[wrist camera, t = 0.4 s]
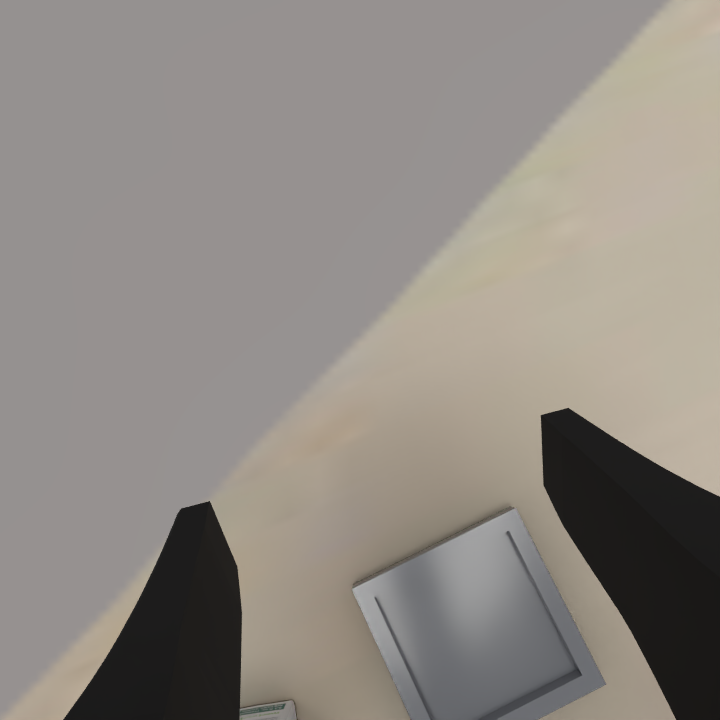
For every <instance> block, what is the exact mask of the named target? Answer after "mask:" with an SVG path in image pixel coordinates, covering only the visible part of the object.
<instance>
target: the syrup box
mask: <svg viewBox="0 0 720 720" xmlns="http://www.w3.org/2000/svg"><path fill="white" fill-rule="evenodd" d="M240 720H297V717H296V711H295V705H294V702H293V700H289V701H284V702H277V703H271V704H264V705H257V706H252V707H247V708H241V709H240Z"/></svg>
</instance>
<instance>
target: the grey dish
mask: <svg viewBox="0 0 720 720" xmlns="http://www.w3.org/2000/svg"><path fill="white" fill-rule="evenodd" d="M352 591H353V593H354V595H355V598H356V600H357V602H358V604H359V606H360V609H361V611H362V613H363V615H364V617H365V620H366V622H367V624H368V626H369V628H370V631H371V633H372V635H373V637H374V639H375V641H376V644H377V646H378V648H379V650H380V652H381V655H382V657H383V659H384V661H385V663H386V666H387V668H388V670H389V672H390V674H391V677H392V679H393V681H394V683H395V685H396V688H397V690H398V692H399V694H400V696H401V699H402V701H403V703H404V705H405V707H406V709H407V712H408V714H409V716H410V718H411V720H538V719H540V718H542V717H543V716H545V715H547V714H549V713H551V712H553V711H555V710H557V709H559V708H561V707H563V706H565V705H567V704H569V703H571V702H573V701H575V700H577V699H579V698H581V697H582V696H584V695H586V694H588V693H590V692H592V691H594V690H596V689H598V688H600V687H602V686H604V685H606V683H605V681H604V679H603V677H602V675H601V673H600V671H599V669H598V667H597V665H596V663H595V661H594V659H593V657H592V656H591V654H590V652H589V650H588V648H587V646H586V644H585V642H584V640H583V638H582V636H581V634H580V632H579V630H578V628H577V626H576V624H575V622H574V620H573V618H572V616H571V614H570V613H569V611H568V609H567V607H566V605H565V603H564V601H563V599H562V597H561V595H560V593H559V591H558V589H557V587H556V585H555V583H554V581H553V579H552V577H551V575H550V573H549V572H548V570H547V568H546V566H545V564H544V562H543V560H542V558H541V556H540V554H539V552H538V550H537V548H536V546H535V544H534V542H533V540H532V538H531V536H530V534H529V532H528V530H527V529H526V527H525V525H524V523H523V521H522V519H521V517H520V515H519V513H518V511H517V509H516V508H515V507H508V508H506V509H504V510H502V511H500V512H498V513H496V514H494V515H492V516H490V517H488V518H486V519H484V520H482V521H480V522H478V523H476V524H474V525H472V526H470V527H468V528H466V529H464V530H462V531H460V532H458V533H456V534H454V535H452V536H450V537H448V538H446V539H444V540H442V541H440V542H437V543H435V544H433V545H431V546H429V547H427V548H425V549H423V550H421V551H419V552H417V553H415V554H413V555H411V556H409V557H407V558H405V559H403V560H401V561H399V562H397V563H395V564H393V565H391V566H389V567H387V568H385V569H383V570H381V571H379V572H377V573H375V574H373V575H371V576H369V577H367V578H365V579H363V580H361V581H359V582H357V583H355V584H353V586H352Z"/></svg>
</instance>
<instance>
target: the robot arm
mask: <svg viewBox="0 0 720 720" xmlns="http://www.w3.org/2000/svg"><path fill="white" fill-rule="evenodd" d="M541 429H542V455H543V481H544V487H545V489H546V491H547V493H548V495H549V498H550V500H551V502H552V504H553V506H554V508H555V510H556V512H557V514H558V516H559V518H560V520H561V522H562V524H563V526H564V528H565V529H566V531H567V532H568V534H569V535H570V537H571V539H572V540H573V542H574V543H575V545H576V546H577V548H578V549H579V551H580V552H581V554H582V556H583V557H584V559H585V560H586V562H587V563H588V565H589V566H590V568H591V569H592V571H593V572H594V574H595V575H596V577H597V578H598V580H599V581H600V583H601V584H602V586H603V588H604V589H605V591H606V592H607V594H608V595H609V597H610V598H611V600H612V601H613V603H614V604H615V606H616V607H617V609H618V610H619V612H620V614H621V615H622V617H623V619H624V620H625V622H626V624H627V625H628V627H629V629H630V630H631V632H632V634H633V636H634V638H635V640H636V641H637V643H638V645H639V647H640V649H641V651H642V653H643V655H644V657H645V659H646V661H647V663H648V664H649V666H650V668H651V670H652V672H653V674H654V676H655V678H656V680H657V682H658V684H659V686H660V688H661V690H662V692H663V694H664V696H665V698H666V700H667V702H668V704H669V706H670V708H671V710H672V712H673V714H674V716H675V718H676V720H720V497H719V496H717V495H715V494H713V493H711V492H709V491H707V490H704V489H702V488H700V487H698V486H696V485H694V484H693V483H691V482H689V481H687V480H685V479H683V478H681V477H679V476H678V475H676V474H674V473H672V472H670V471H668V470H666V469H665V468H663V467H661V466H659V465H658V464H656V463H654V462H652V461H651V460H649V459H647V458H646V457H644V456H642V455H641V454H639V453H637V452H636V451H634V450H633V449H631V448H629V447H628V446H626V445H625V444H623V443H621V442H620V441H618V440H617V439H615V438H614V437H612V436H610V435H609V434H607V433H606V432H604V431H603V430H601V429H600V428H598V427H597V426H595V425H594V424H592V423H591V422H589V421H587V420H586V419H584V418H583V417H581V416H580V415H578V414H577V413H575V412H574V411H572V410H570V409H569V408H566V409H563V410H559V411H555V412H551V413H547V414H543V415H541ZM241 633H242V610H241V599H240V588H239V579H238V569H237V565H236V563H235V560H234V558H233V555H232V553H231V551H230V548H229V546H228V543H227V541H226V539H225V536H224V534H223V532H222V529H221V527H220V524H219V522H218V520H217V517H216V515H215V512H214V510H213V508H212V505H211V503H210V501H209V502H205V503H201V504H197V505H194V506H190V507H186V508H182V509H181V510H180V511H179V513H178V514H177V517H176V519H175V521H174V524H173V526H172V528H171V531H170V533H169V536H168V538H167V540H166V543H165V545H164V547H163V550H162V552H161V554H160V556H159V558H158V561H157V563H156V565H155V567H154V569H153V571H152V573H151V575H150V578H149V580H148V582H147V584H146V586H145V588H144V590H143V592H142V594H141V596H140V598H139V600H138V602H137V604H136V606H135V608H134V609H133V611H132V613H131V615H130V617H129V618H128V620H127V622H126V624H125V626H124V628H123V629H122V631H121V633H120V635H119V637H118V638H117V640H116V642H115V643H114V645H113V647H112V648H111V650H110V652H109V653H108V655H107V657H106V658H105V660H104V662H103V663H102V665H101V666H100V668H99V669H98V671H97V672H96V674H95V675H94V677H93V678H92V680H91V682H90V683H89V684H88V686H87V687H86V689H85V690H84V692H83V693H82V694H81V696H80V697H79V699H78V700H77V701H76V703H75V704H74V706H73V707H72V708H71V710H70V711H69V713H68V714H67V715H66V717H65V718H64V719H63V720H240V678H241Z"/></svg>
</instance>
